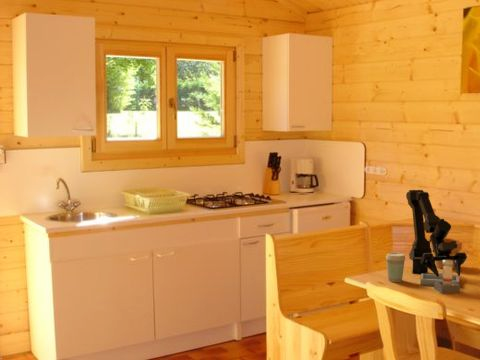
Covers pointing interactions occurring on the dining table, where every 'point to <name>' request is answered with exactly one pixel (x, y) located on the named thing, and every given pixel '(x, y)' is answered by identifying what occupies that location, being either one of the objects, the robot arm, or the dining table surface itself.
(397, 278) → the coffee cup
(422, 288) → the dining table surface
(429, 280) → the tray
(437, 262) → the flower pot
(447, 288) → the clip block
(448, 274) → the fuse
